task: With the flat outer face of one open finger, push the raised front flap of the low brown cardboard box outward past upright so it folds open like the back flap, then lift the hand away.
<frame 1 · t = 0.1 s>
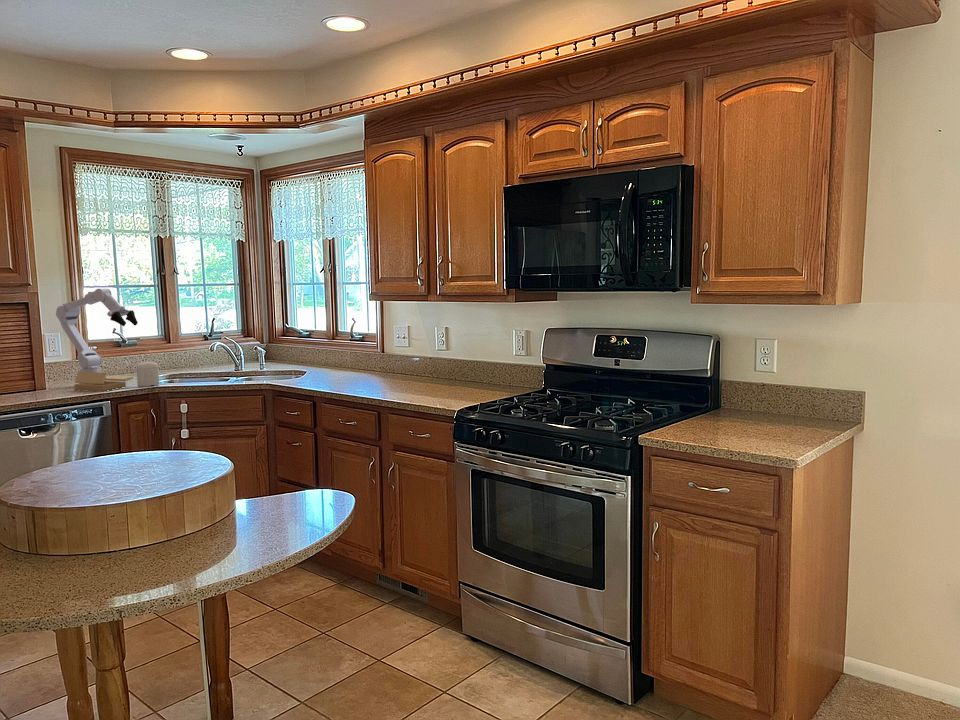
hand: (130, 324, 368), 32 cm above the kitchen counter, tool tilted 50°, fingers open, 7 cm apart
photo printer: (148, 386, 376), on the kitchen counter
front flap: (90, 377, 360), point 6 cm above the kitchen counter, hinge at 60.0°
carton: (100, 389, 366), on the kitchen counter
back flap: (115, 378, 375), point 4 cm above the kitchen counter, hinge at 172.0°
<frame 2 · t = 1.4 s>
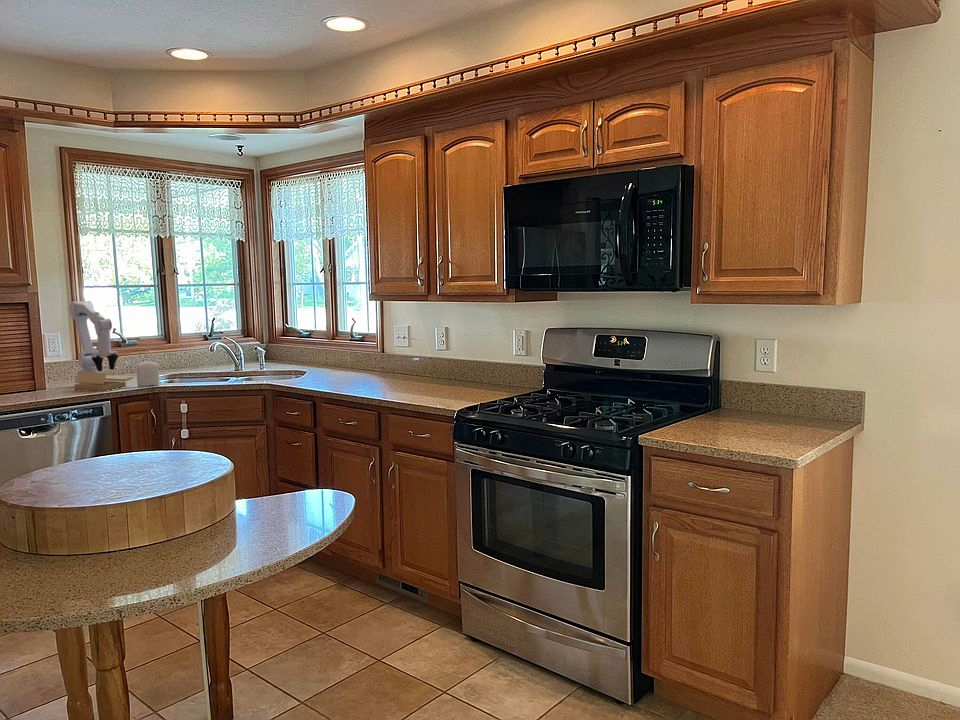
hand: (105, 370, 369), 9 cm above the kitchen counter, tool pointing down, fingers open, 7 cm apart
nothing on the kitchen counter moved.
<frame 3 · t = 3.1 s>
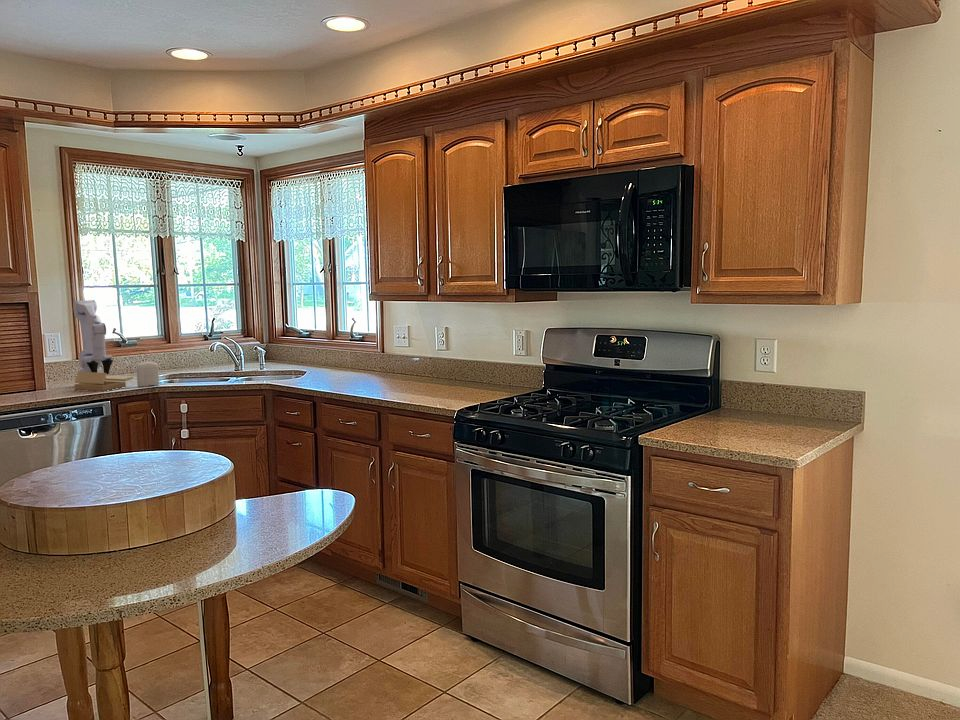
hand: (100, 375, 366), 7 cm above the kitchen counter, tool pointing down, fingers open, 7 cm apart
front flap: (90, 377, 360), point 6 cm above the kitchen counter, hinge at 60.0°, touching gripper
everything else where it was.
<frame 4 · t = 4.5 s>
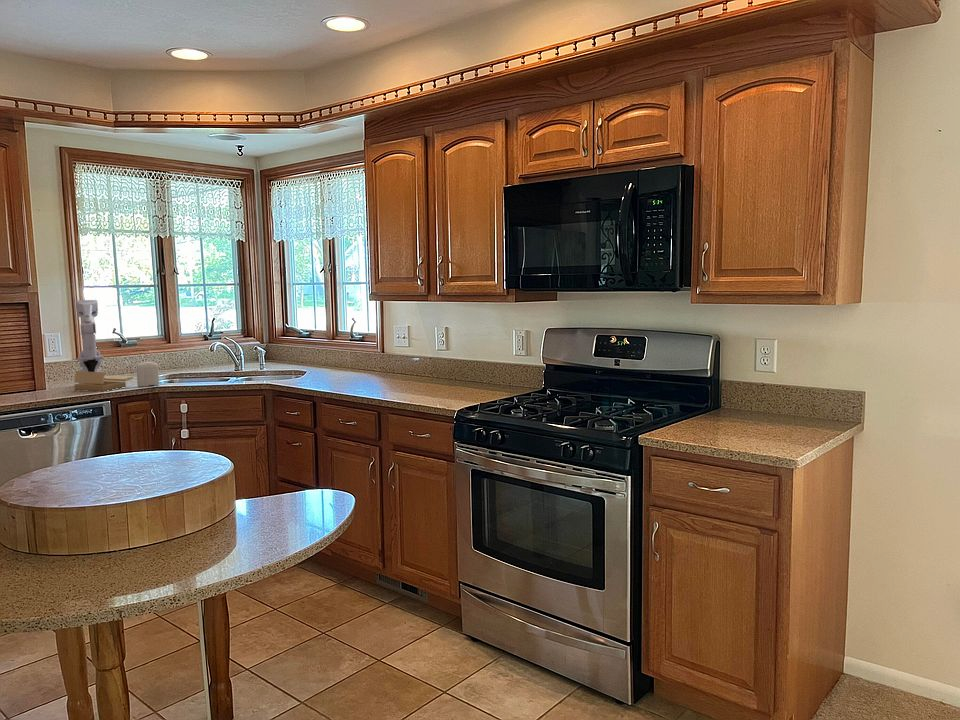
hand: (91, 375, 360), 8 cm above the kitchen counter, tool pointing down, fingers closed, pressing on front flap
front flap: (89, 377, 359), point 7 cm above the kitchen counter, hinge at 74.4°, touching gripper
everything else where it was.
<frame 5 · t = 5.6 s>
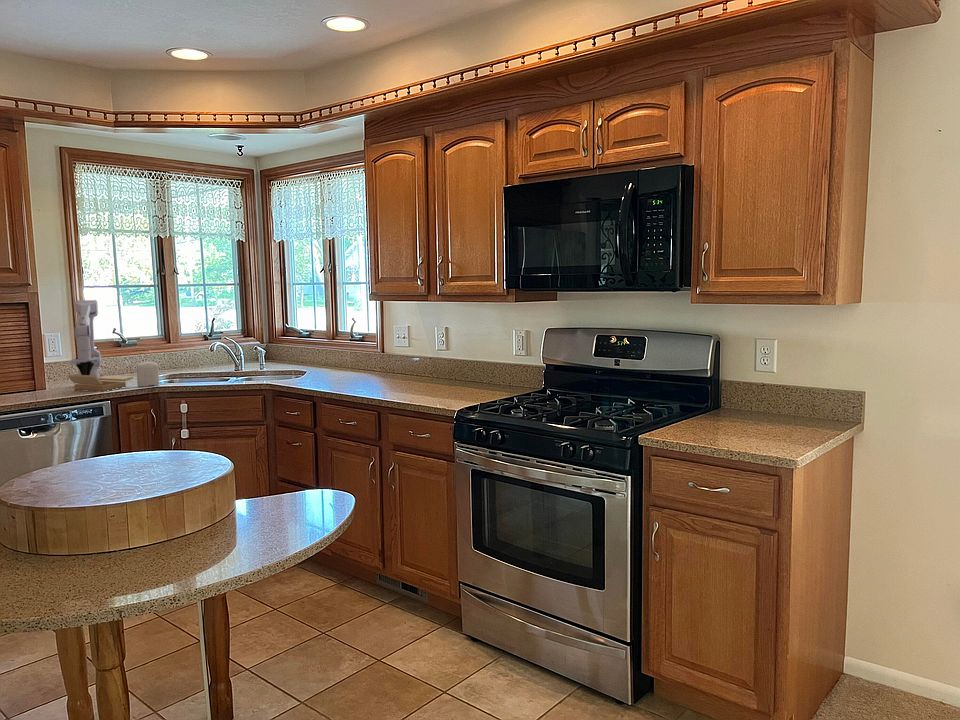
hand: (85, 377, 357), 7 cm above the kitchen counter, tool pointing down, fingers closed
front flap: (84, 379, 357), point 6 cm above the kitchen counter, hinge at 131.8°, touching gripper
everything else where it was.
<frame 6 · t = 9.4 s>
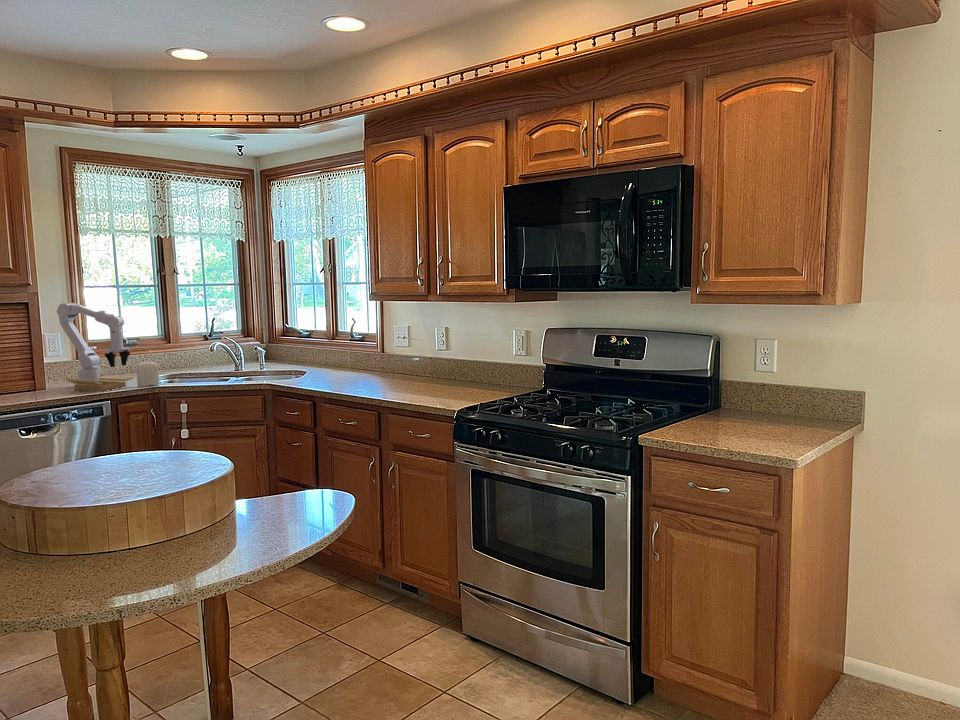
hand: (118, 366, 379), 10 cm above the kitchen counter, tool pointing down, fingers open, 7 cm apart
front flap: (83, 381, 356), point 5 cm above the kitchen counter, hinge at 155.1°
everything else where it was.
at the end: front flap at +155° (first picture: +60°); back flap at +172° (first picture: +172°) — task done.
